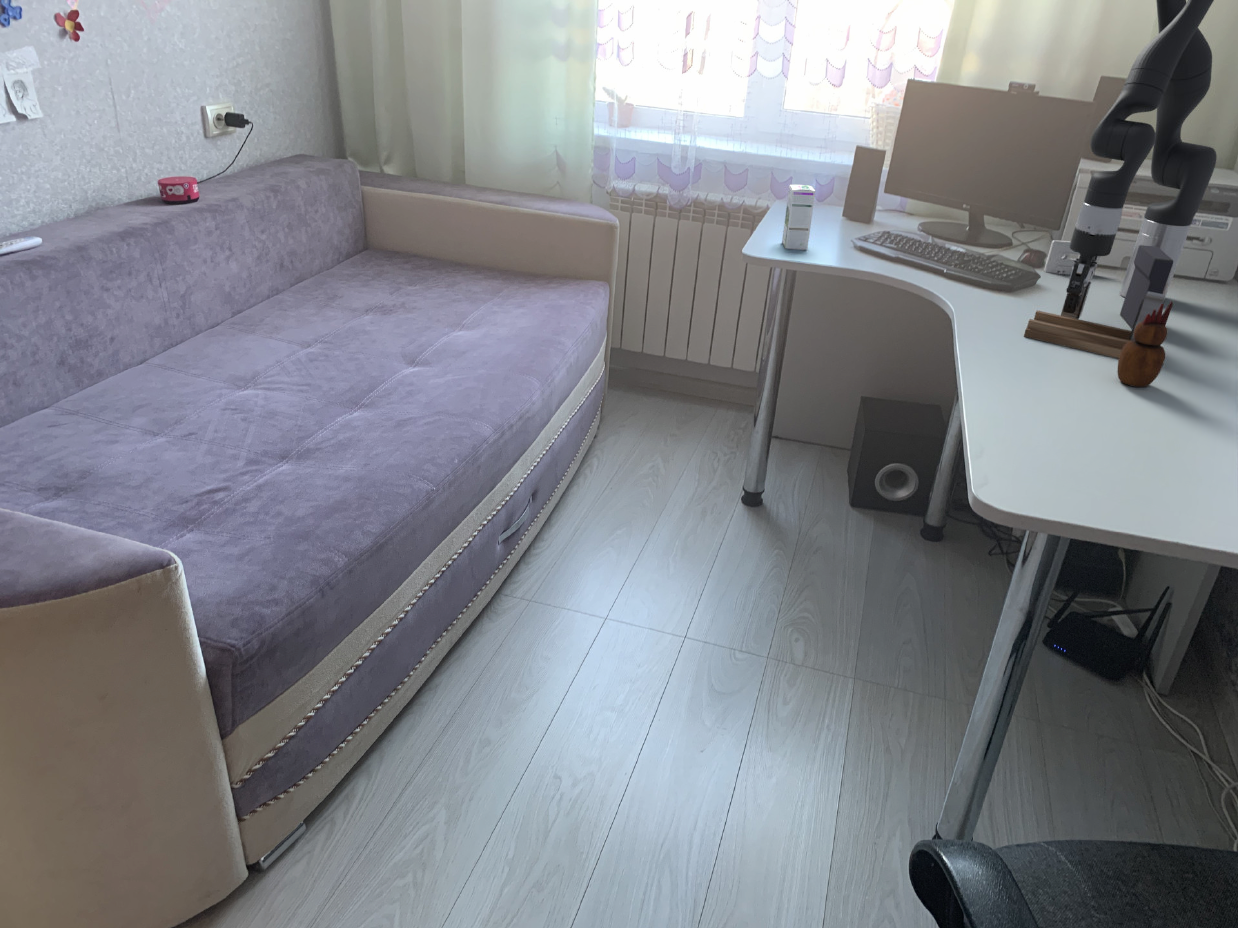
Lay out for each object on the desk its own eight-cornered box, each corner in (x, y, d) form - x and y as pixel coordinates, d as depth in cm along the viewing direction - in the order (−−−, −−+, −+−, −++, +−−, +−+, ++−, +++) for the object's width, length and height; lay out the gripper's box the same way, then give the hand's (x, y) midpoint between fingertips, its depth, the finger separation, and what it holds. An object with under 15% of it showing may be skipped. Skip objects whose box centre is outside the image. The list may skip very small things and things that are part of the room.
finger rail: (1034, 323, 190) (1049, 268, 185) (1158, 351, 180) (1179, 293, 174) (1023, 336, 183) (1039, 279, 177) (1152, 366, 172) (1174, 306, 167)
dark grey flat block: (1153, 334, 189) (1178, 261, 182) (1130, 331, 190) (1154, 258, 182) (1137, 316, 198) (1161, 246, 191) (1116, 314, 199) (1139, 244, 192)
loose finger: (1061, 318, 195) (1075, 271, 190) (1079, 321, 193) (1093, 274, 188) (1058, 323, 192) (1072, 275, 187) (1076, 326, 190) (1090, 279, 185)
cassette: (1045, 273, 225) (1054, 241, 221) (1042, 271, 226) (1051, 239, 223) (1095, 276, 225) (1104, 245, 221) (1091, 274, 226) (1101, 242, 223)
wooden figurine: (1151, 381, 166) (1180, 299, 159) (1156, 393, 161) (1186, 309, 154) (1110, 374, 168) (1137, 293, 160) (1114, 385, 163) (1141, 303, 156)
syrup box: (807, 250, 230) (817, 190, 223) (783, 249, 230) (792, 188, 223) (804, 244, 235) (813, 185, 228) (780, 242, 235) (789, 183, 228)
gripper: (1081, 218, 190) (1059, 295, 198) (1069, 231, 180) (1046, 311, 187) (1121, 225, 187) (1097, 303, 195) (1111, 238, 176) (1086, 320, 184)
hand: (1072, 307), depth 191 cm, fingers open, 8 cm apart
